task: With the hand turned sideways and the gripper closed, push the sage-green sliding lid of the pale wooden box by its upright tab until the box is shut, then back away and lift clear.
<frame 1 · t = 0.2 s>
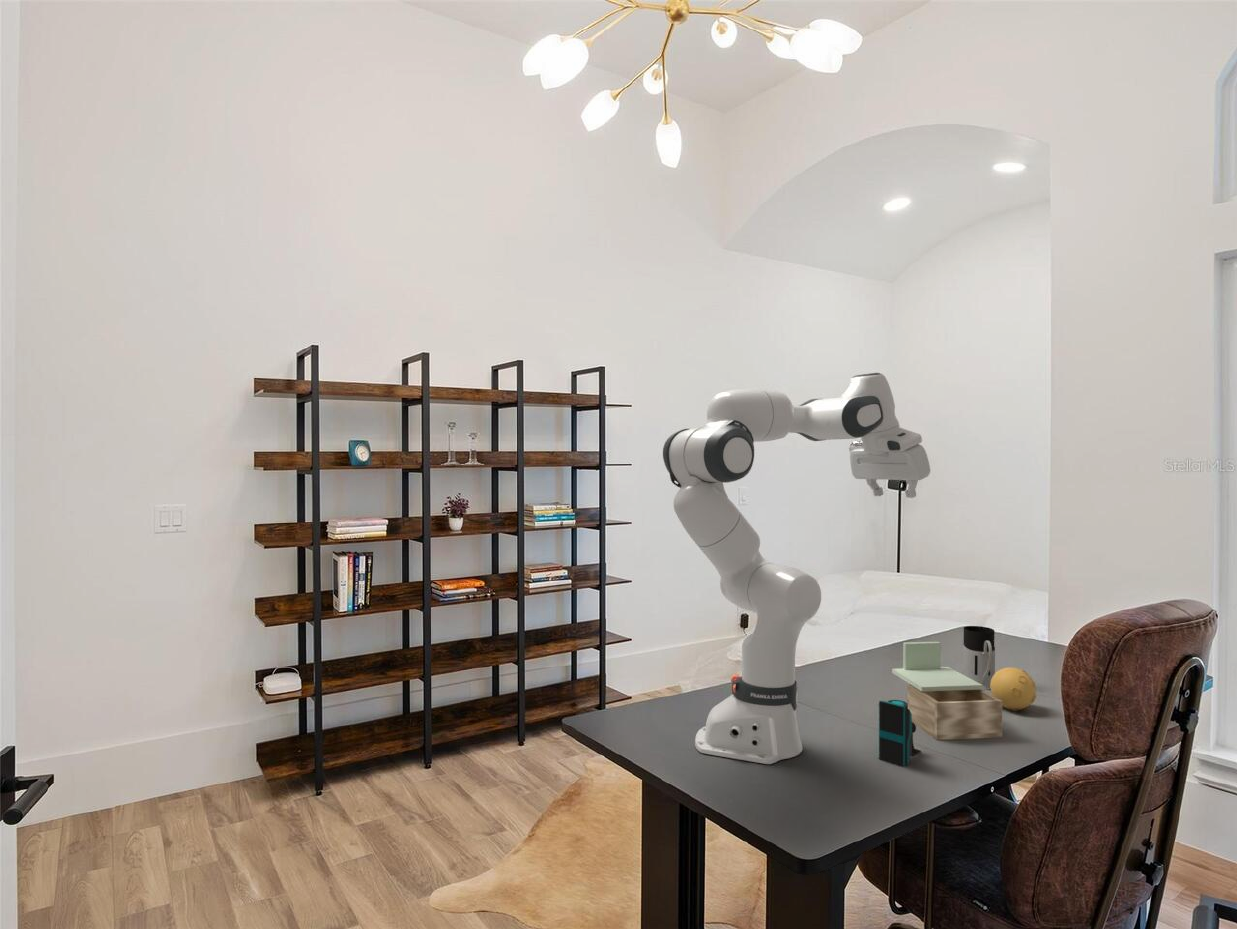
hand: (894, 496, 172), 52 cm above the table, tool tilted 20°, fingers open, 8 cm apart
stress ball: (1012, 710, 179), on the table
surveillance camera: (901, 757, 151), on the table
wooden box: (953, 727, 167), on the table
lid: (935, 665, 174), point 12 cm above the table, slide at 7.0 cm
glass holder: (981, 688, 195), on the table
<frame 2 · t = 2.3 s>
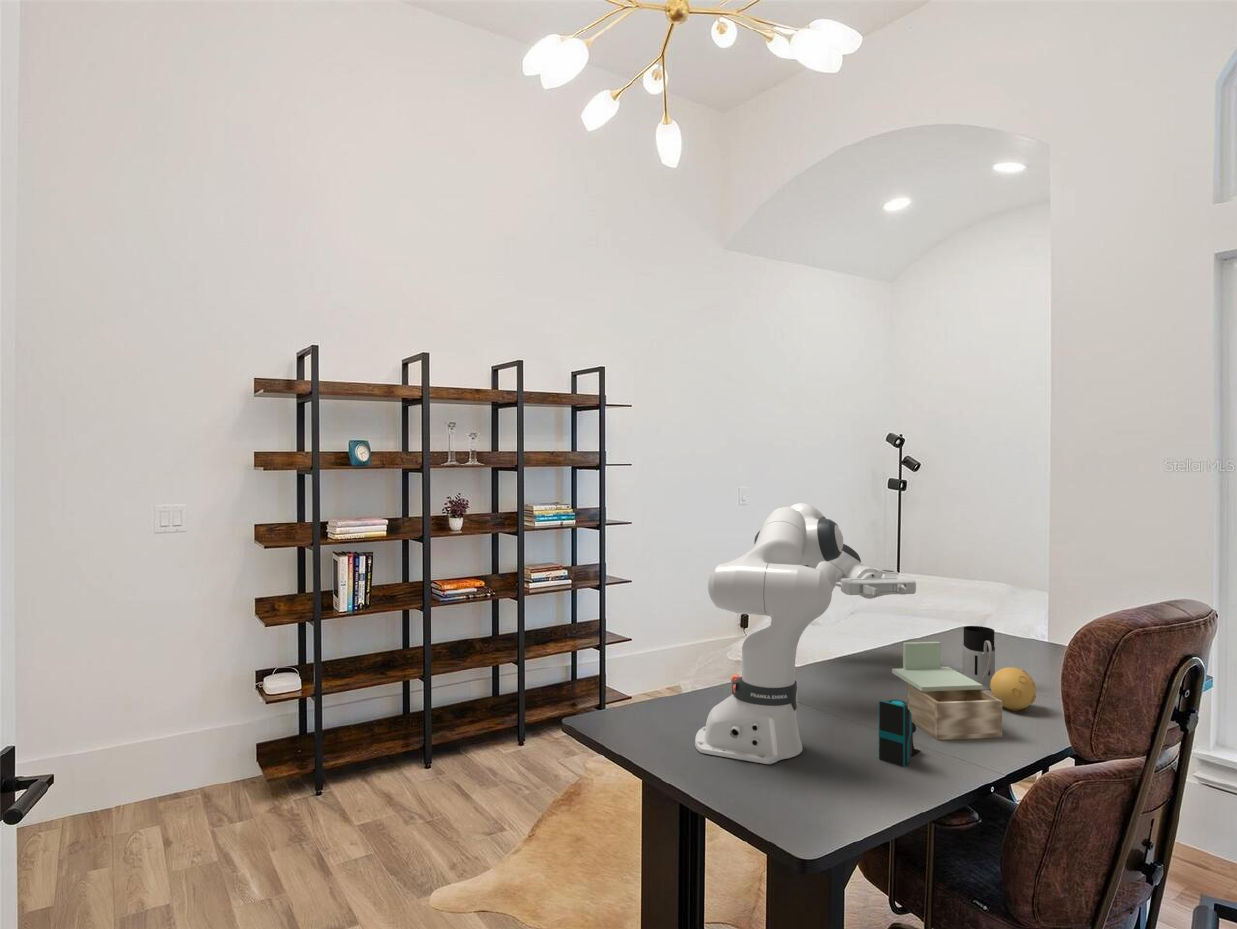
hand: (890, 591, 197), 25 cm above the table, tool horizontal, fingers open, 6 cm apart
nothing on the table moved.
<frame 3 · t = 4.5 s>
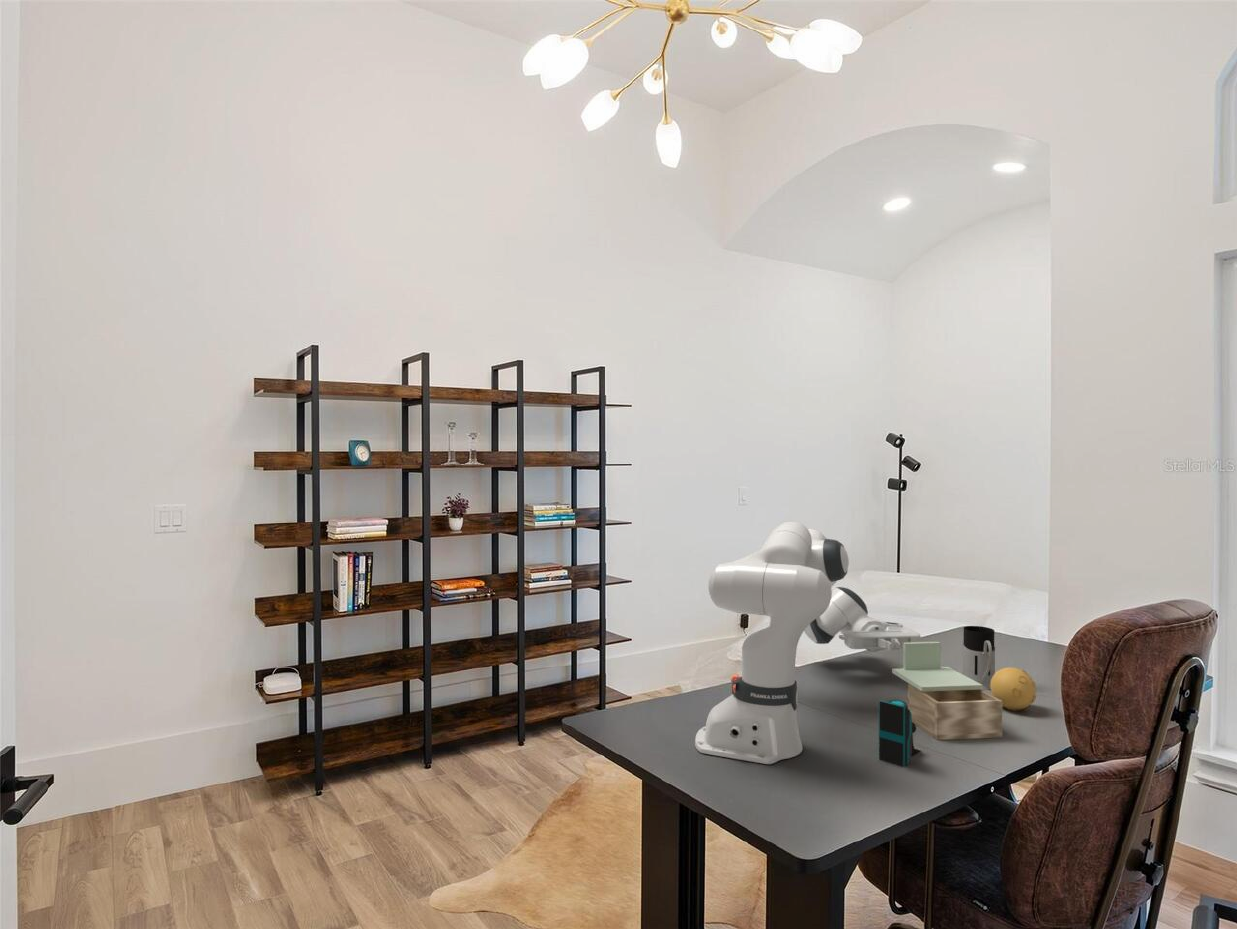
hand: (895, 646, 193), 11 cm above the table, tool horizontal, fingers closed
nothing on the table moved.
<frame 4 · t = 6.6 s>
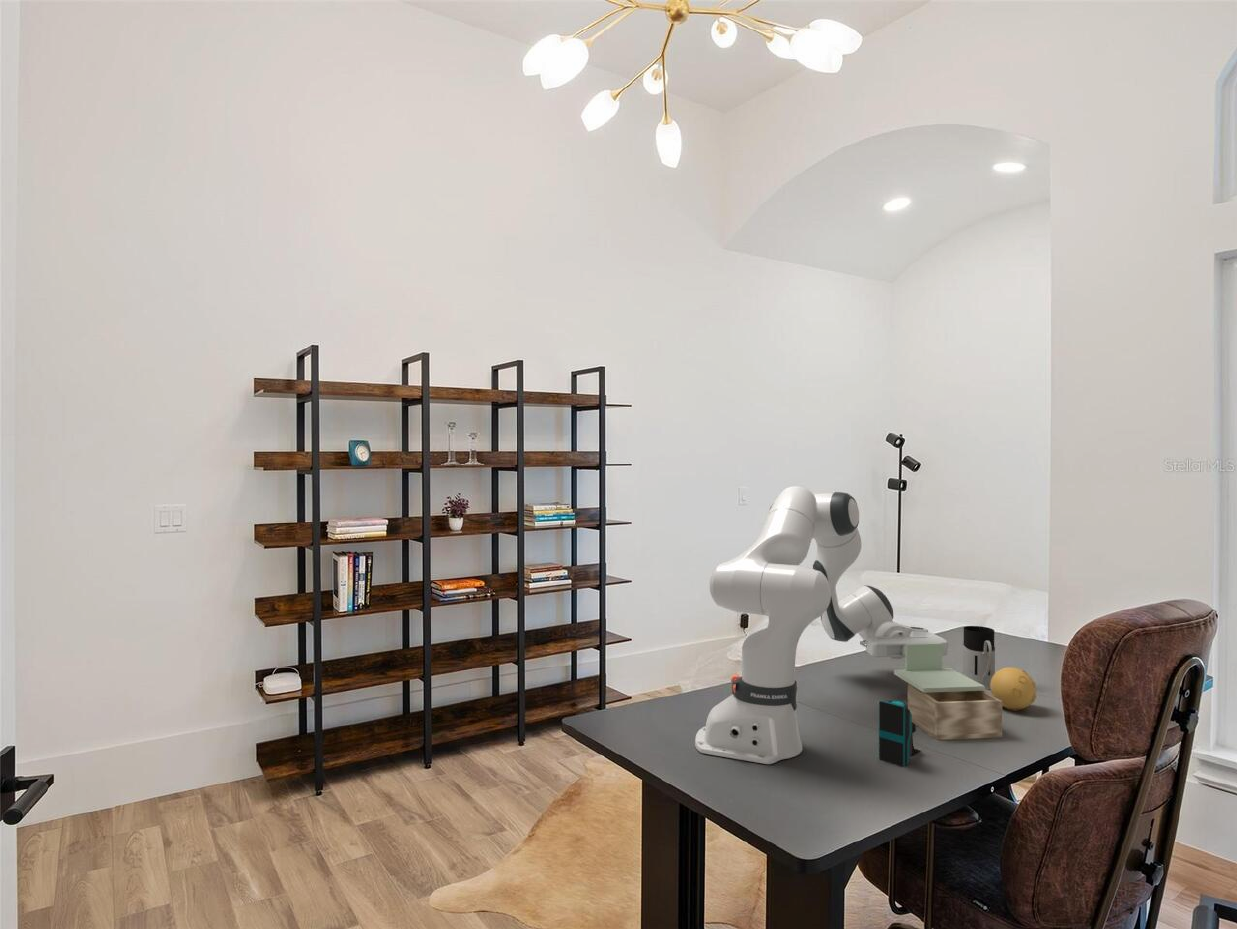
hand: (921, 654, 180), 13 cm above the table, tool horizontal, fingers closed, pressing on lid
lid: (937, 666, 173), point 12 cm above the table, slide at 6.1 cm, touching gripper
everything else where it was.
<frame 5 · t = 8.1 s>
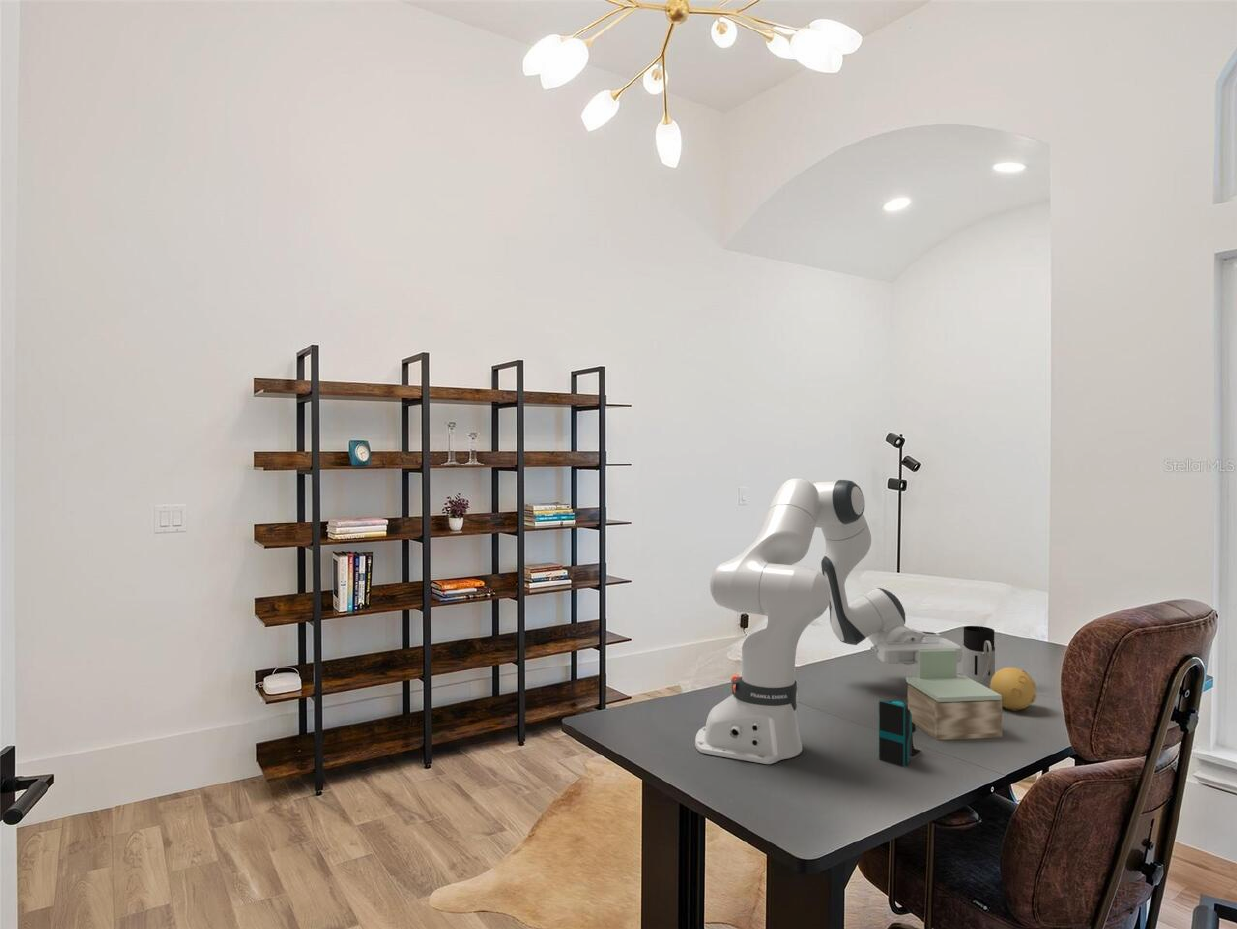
hand: (935, 661, 174), 13 cm above the table, tool horizontal, fingers closed, pressing on lid
lid: (952, 674, 167), point 12 cm above the table, slide at -0.1 cm, touching gripper
everything else where it was.
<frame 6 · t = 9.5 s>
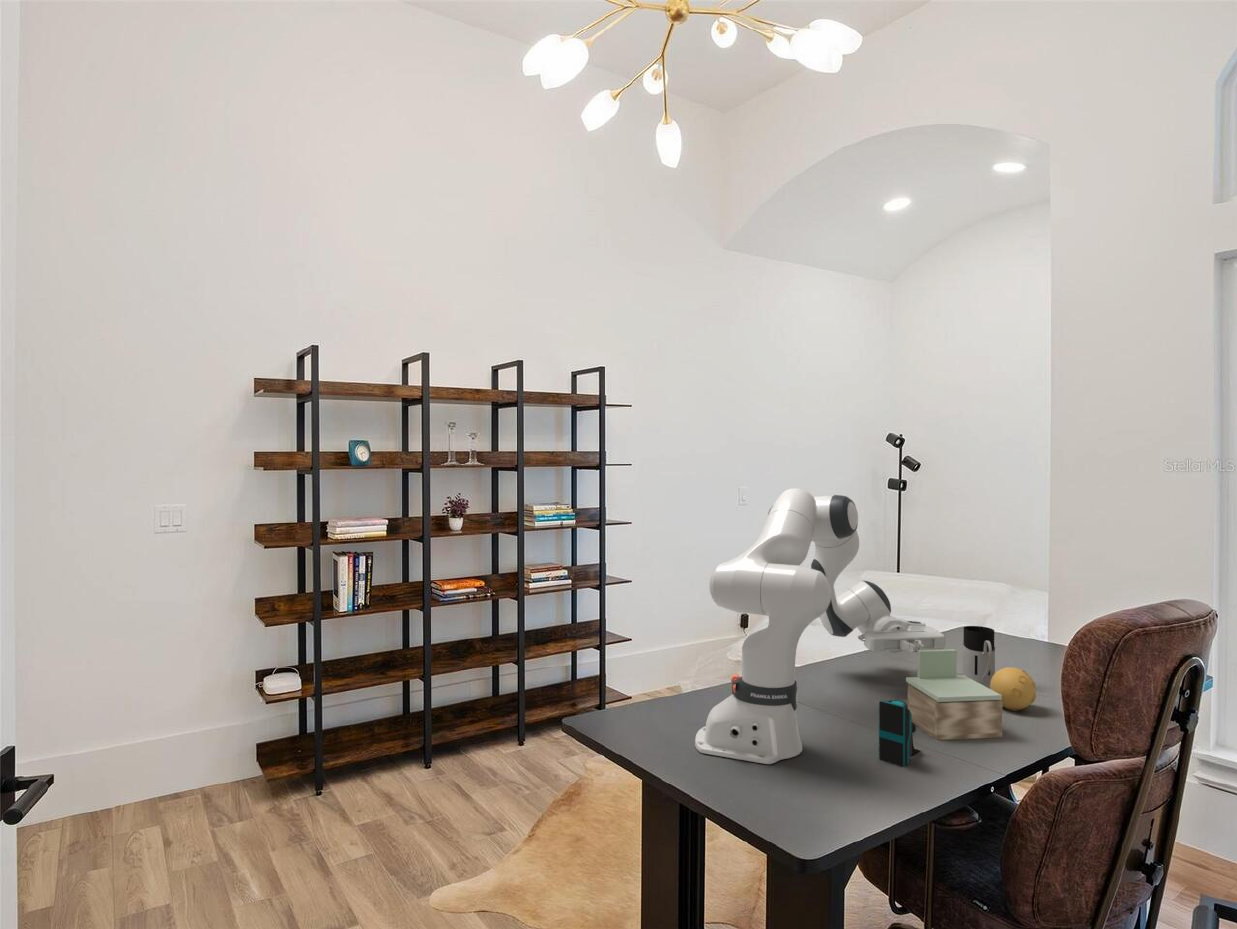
hand: (918, 649, 183), 14 cm above the table, tool horizontal, fingers closed
lid: (952, 674, 167), point 12 cm above the table, slide at 0.0 cm
everything else where it was.
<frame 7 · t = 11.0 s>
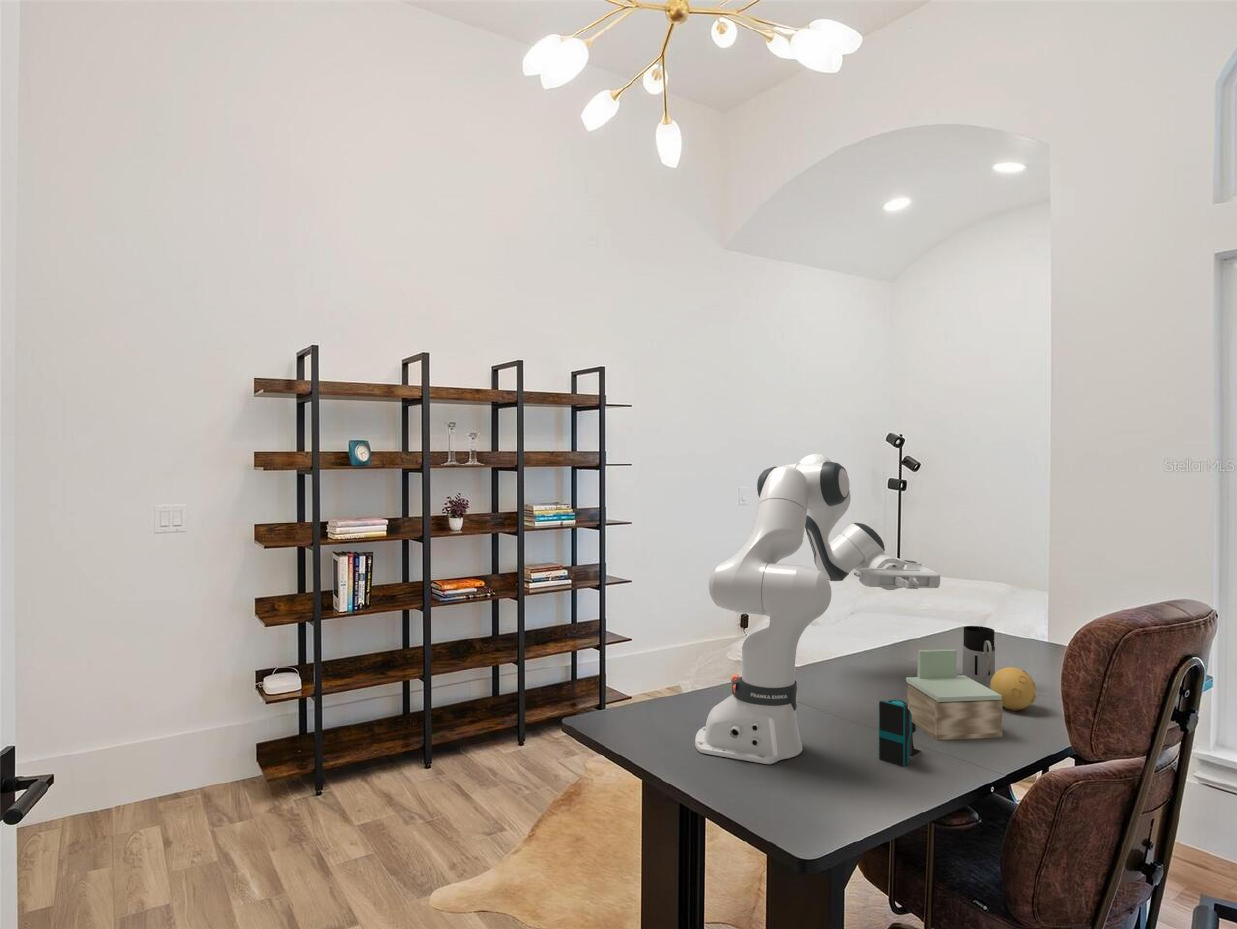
hand: (913, 585, 184), 29 cm above the table, tool horizontal, fingers closed
nothing on the table moved.
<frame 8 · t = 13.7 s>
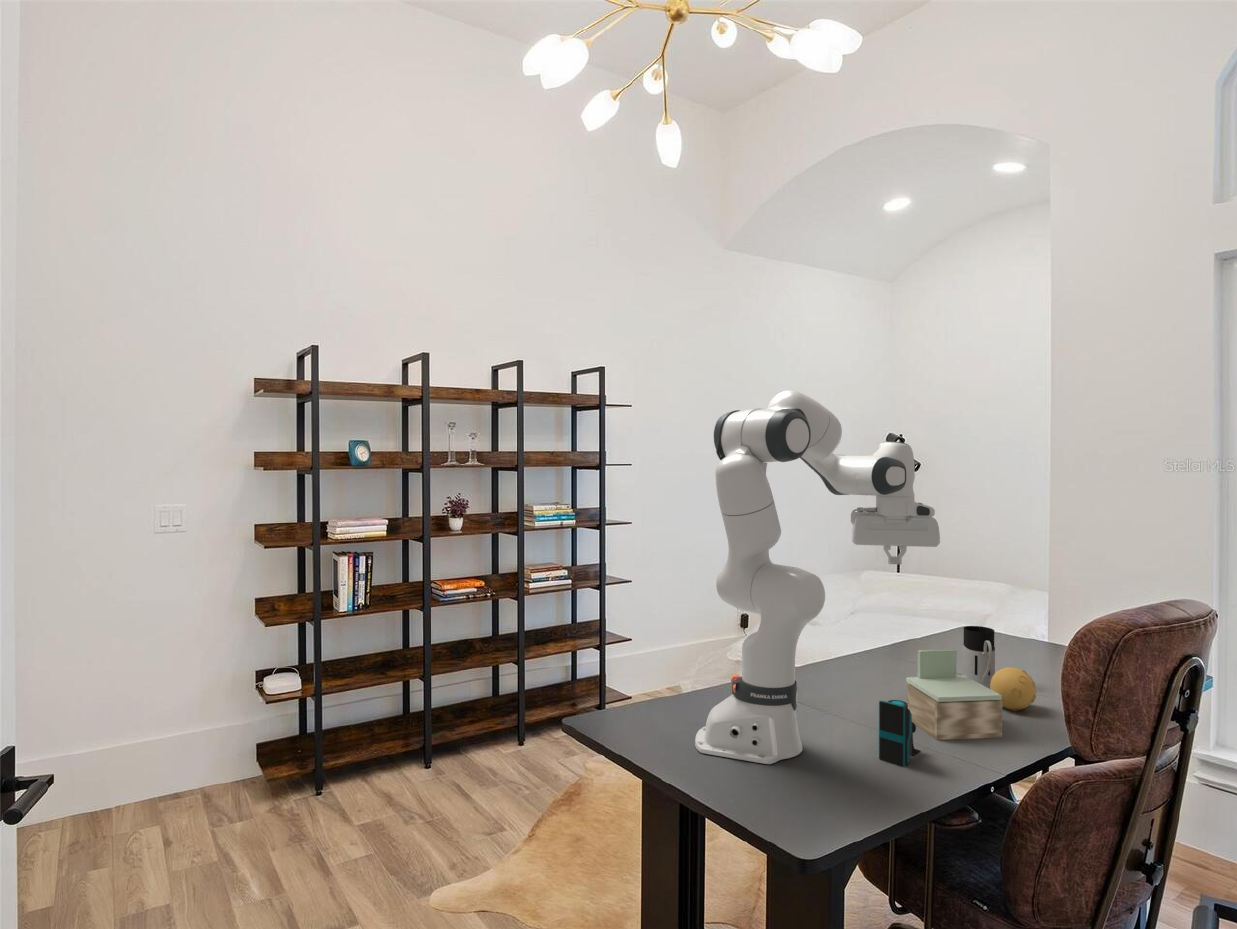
hand: (894, 564, 180), 35 cm above the table, tool pointing down, fingers closed
nothing on the table moved.
at the end: lid slide at 0.0 cm; the gripper is holding nothing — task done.
